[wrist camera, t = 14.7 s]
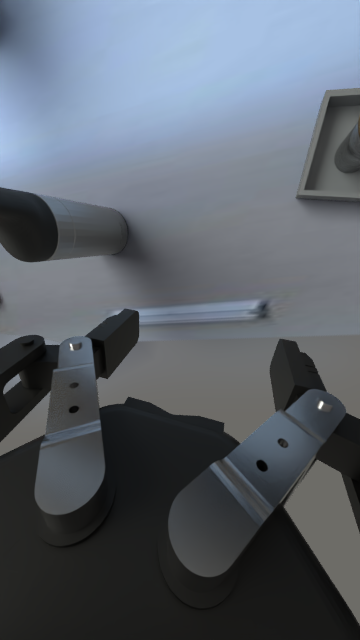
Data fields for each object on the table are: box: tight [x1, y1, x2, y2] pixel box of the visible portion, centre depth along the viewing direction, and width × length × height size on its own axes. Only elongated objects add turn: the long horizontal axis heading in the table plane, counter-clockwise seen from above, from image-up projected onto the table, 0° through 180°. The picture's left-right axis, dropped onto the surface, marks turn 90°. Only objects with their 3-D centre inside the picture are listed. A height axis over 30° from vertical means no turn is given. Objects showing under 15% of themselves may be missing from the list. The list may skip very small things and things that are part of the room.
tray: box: [296, 88, 360, 202], centre depth 29 cm, size 11×11×3 cm
